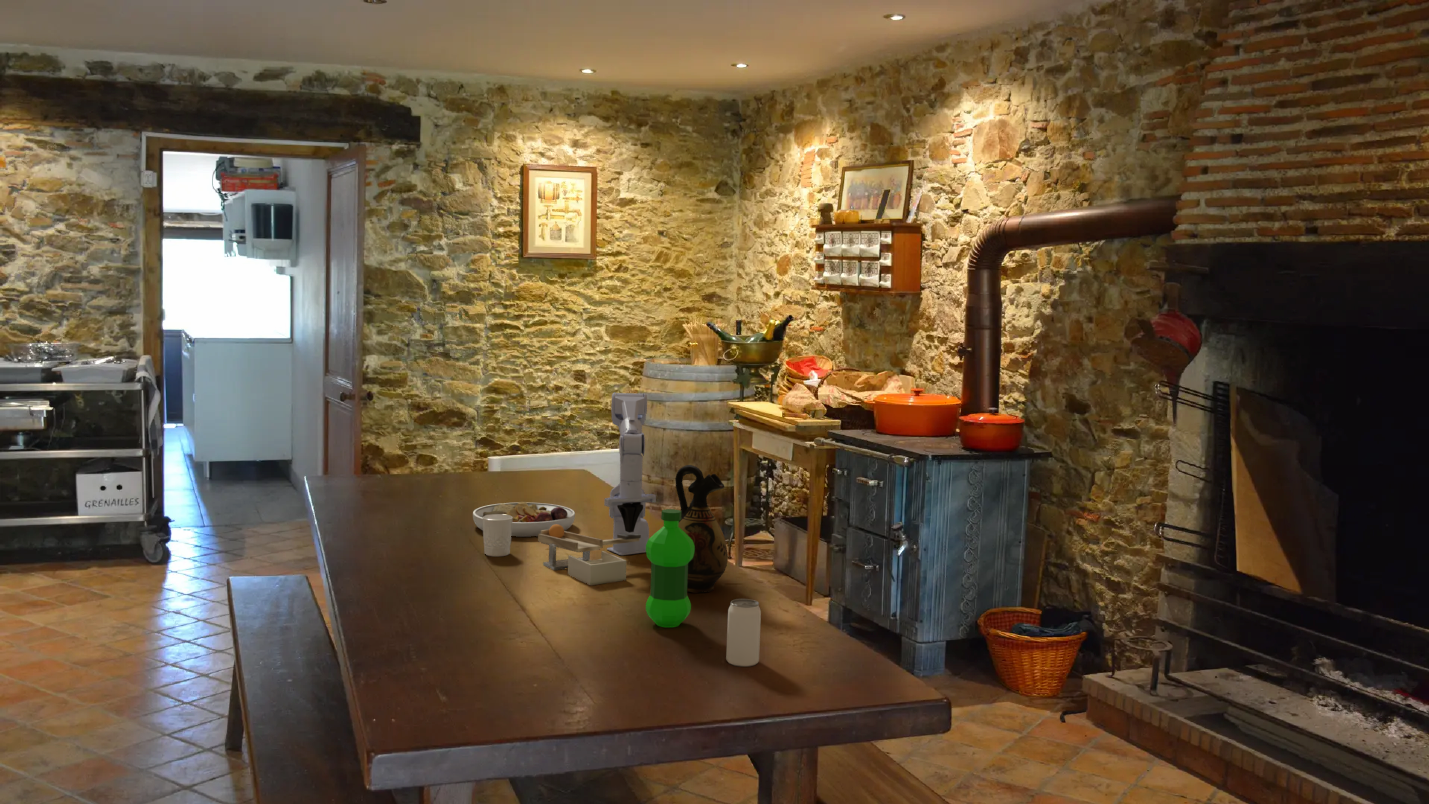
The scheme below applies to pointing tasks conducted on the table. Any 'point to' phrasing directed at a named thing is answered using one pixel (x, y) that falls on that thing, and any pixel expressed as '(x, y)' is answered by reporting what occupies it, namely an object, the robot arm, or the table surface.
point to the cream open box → (598, 569)
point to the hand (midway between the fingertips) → (629, 531)
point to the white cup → (497, 534)
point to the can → (743, 633)
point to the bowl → (528, 516)
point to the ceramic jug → (702, 531)
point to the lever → (583, 541)
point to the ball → (556, 531)
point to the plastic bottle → (669, 571)
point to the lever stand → (561, 563)
